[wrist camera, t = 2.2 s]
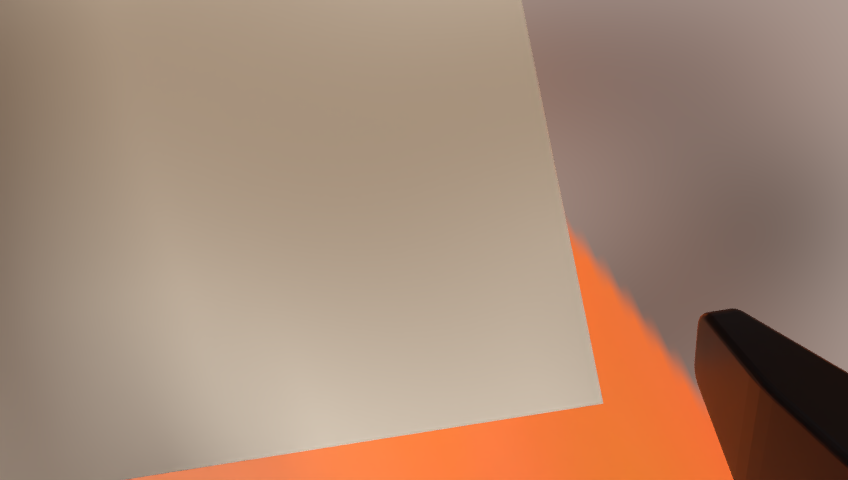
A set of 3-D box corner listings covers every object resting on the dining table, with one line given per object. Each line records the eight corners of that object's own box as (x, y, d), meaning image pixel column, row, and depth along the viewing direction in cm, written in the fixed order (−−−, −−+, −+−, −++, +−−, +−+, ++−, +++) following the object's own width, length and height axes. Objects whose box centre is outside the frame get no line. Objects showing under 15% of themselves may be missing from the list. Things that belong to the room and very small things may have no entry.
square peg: (497, 394, 19) (601, 404, 5) (303, 425, 19) (-128, 520, 5) (464, 206, 20) (477, -222, 6) (281, 236, 20) (-125, -118, 6)
